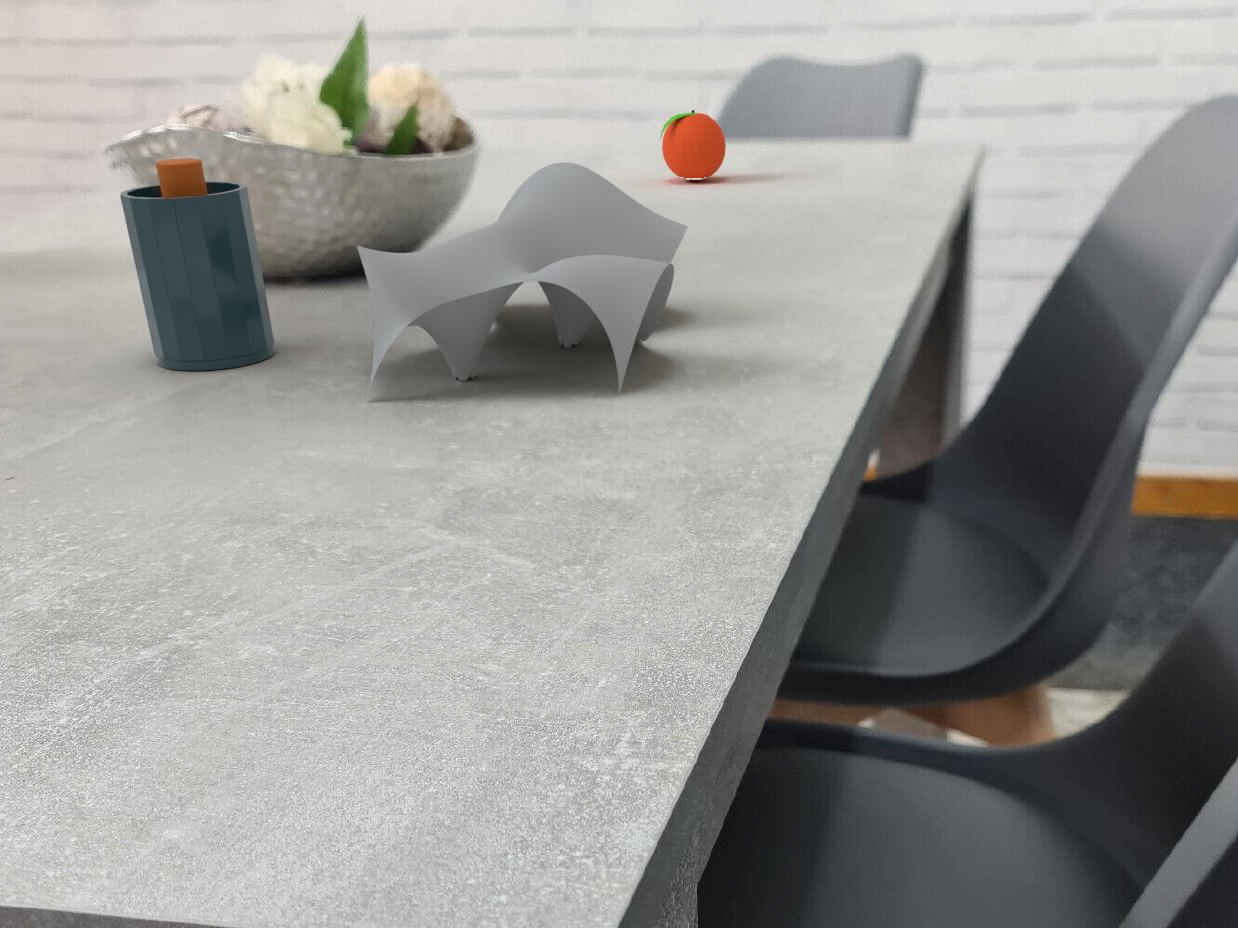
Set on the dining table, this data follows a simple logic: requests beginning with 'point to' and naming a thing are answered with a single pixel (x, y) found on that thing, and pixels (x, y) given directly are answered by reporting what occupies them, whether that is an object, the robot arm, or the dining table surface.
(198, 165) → the cylinder
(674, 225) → the sculpture
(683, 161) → the clementine
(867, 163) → the dining table surface
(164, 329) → the can
